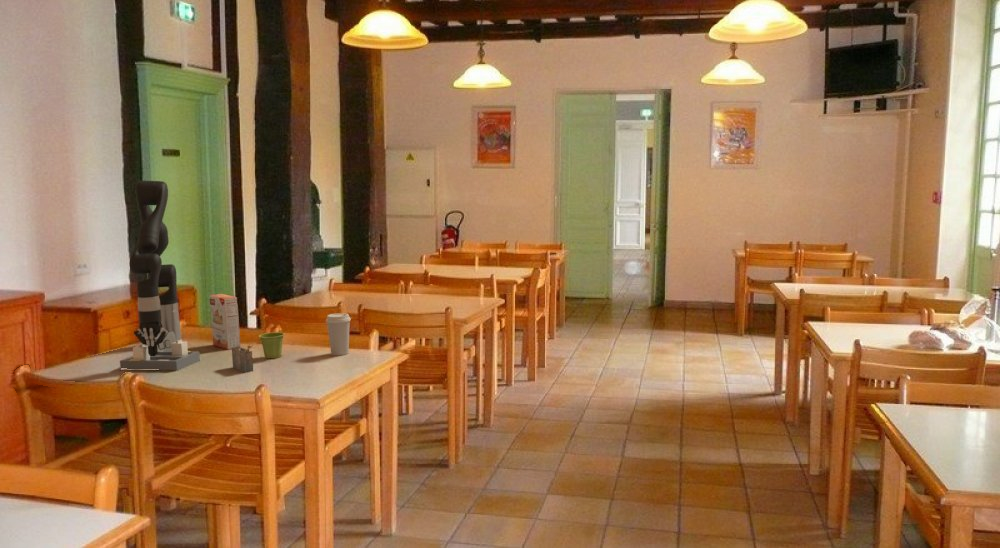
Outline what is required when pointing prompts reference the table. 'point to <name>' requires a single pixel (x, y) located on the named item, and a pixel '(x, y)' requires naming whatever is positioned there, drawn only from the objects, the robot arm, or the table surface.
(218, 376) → the table surface
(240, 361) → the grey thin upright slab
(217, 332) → the cracker box
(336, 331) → the coffee cup
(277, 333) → the plant pot
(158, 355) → the grey compartment tray
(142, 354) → the tab
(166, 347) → the electrical switch
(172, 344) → the white block
